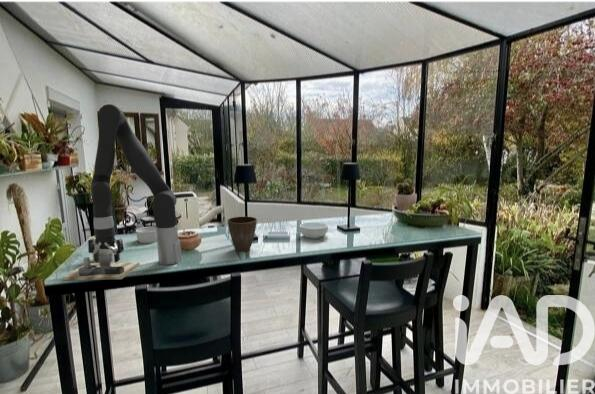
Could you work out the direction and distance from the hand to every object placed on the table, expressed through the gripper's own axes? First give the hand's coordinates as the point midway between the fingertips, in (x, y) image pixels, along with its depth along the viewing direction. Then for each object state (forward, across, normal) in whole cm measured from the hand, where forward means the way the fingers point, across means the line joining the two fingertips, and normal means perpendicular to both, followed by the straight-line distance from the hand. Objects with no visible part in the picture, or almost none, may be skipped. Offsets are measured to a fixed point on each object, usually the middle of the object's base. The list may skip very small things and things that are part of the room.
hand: (107, 261), depth 145 cm
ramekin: (+3, +1, -43) cm, 43 cm away
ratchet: (+2, -2, +8) cm, 9 cm away
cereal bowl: (+2, -94, -48) cm, 105 cm away
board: (+3, -1, +4) cm, 5 cm away
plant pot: (+2, -56, -26) cm, 62 cm away
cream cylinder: (+3, +9, -12) cm, 15 cm away
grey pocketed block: (+2, 0, 0) cm, 2 cm away
